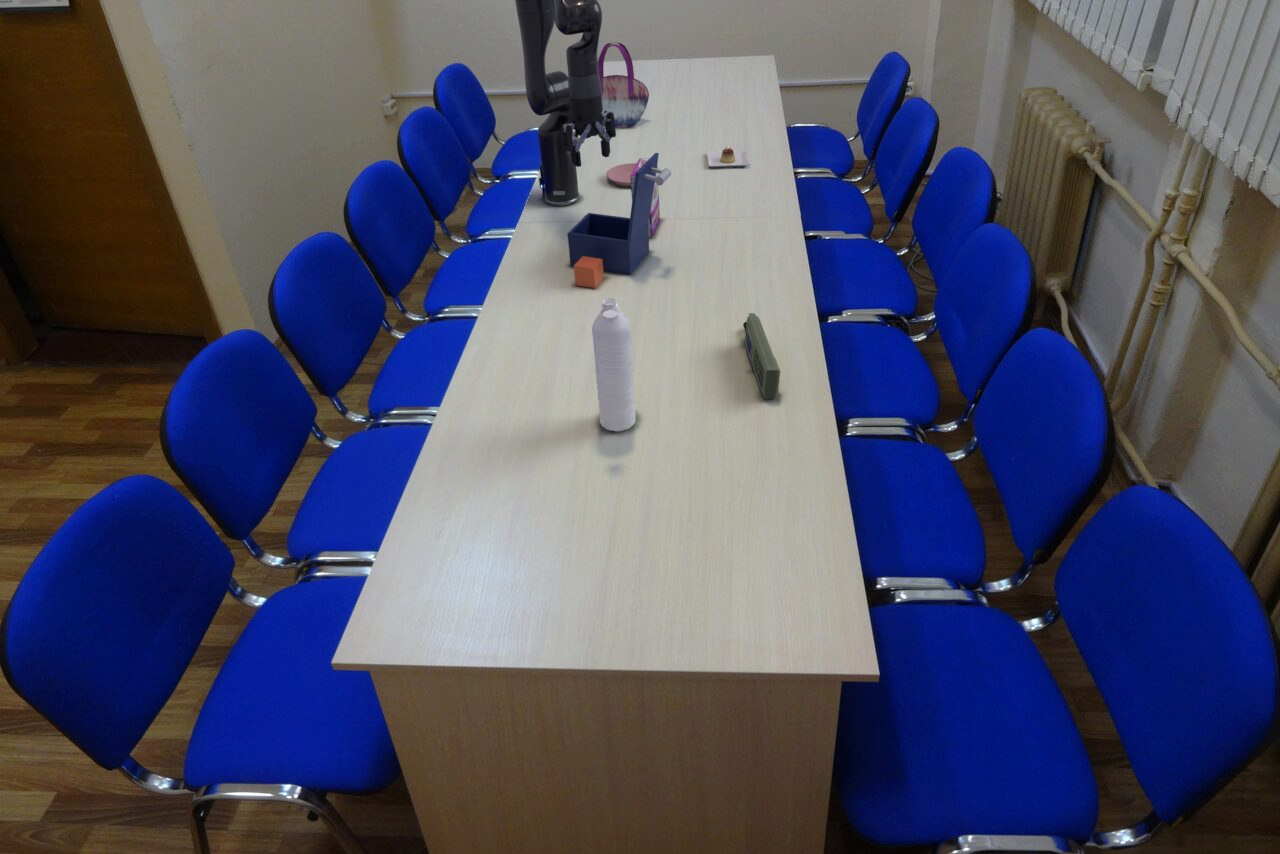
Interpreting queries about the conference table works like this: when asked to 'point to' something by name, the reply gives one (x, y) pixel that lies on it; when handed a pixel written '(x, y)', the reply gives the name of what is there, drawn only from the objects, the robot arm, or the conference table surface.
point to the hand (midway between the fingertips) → (591, 161)
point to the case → (608, 242)
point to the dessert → (728, 158)
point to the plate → (621, 174)
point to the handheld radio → (761, 357)
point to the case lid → (645, 193)
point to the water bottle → (614, 367)
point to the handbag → (622, 92)
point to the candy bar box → (655, 200)
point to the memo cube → (588, 272)
